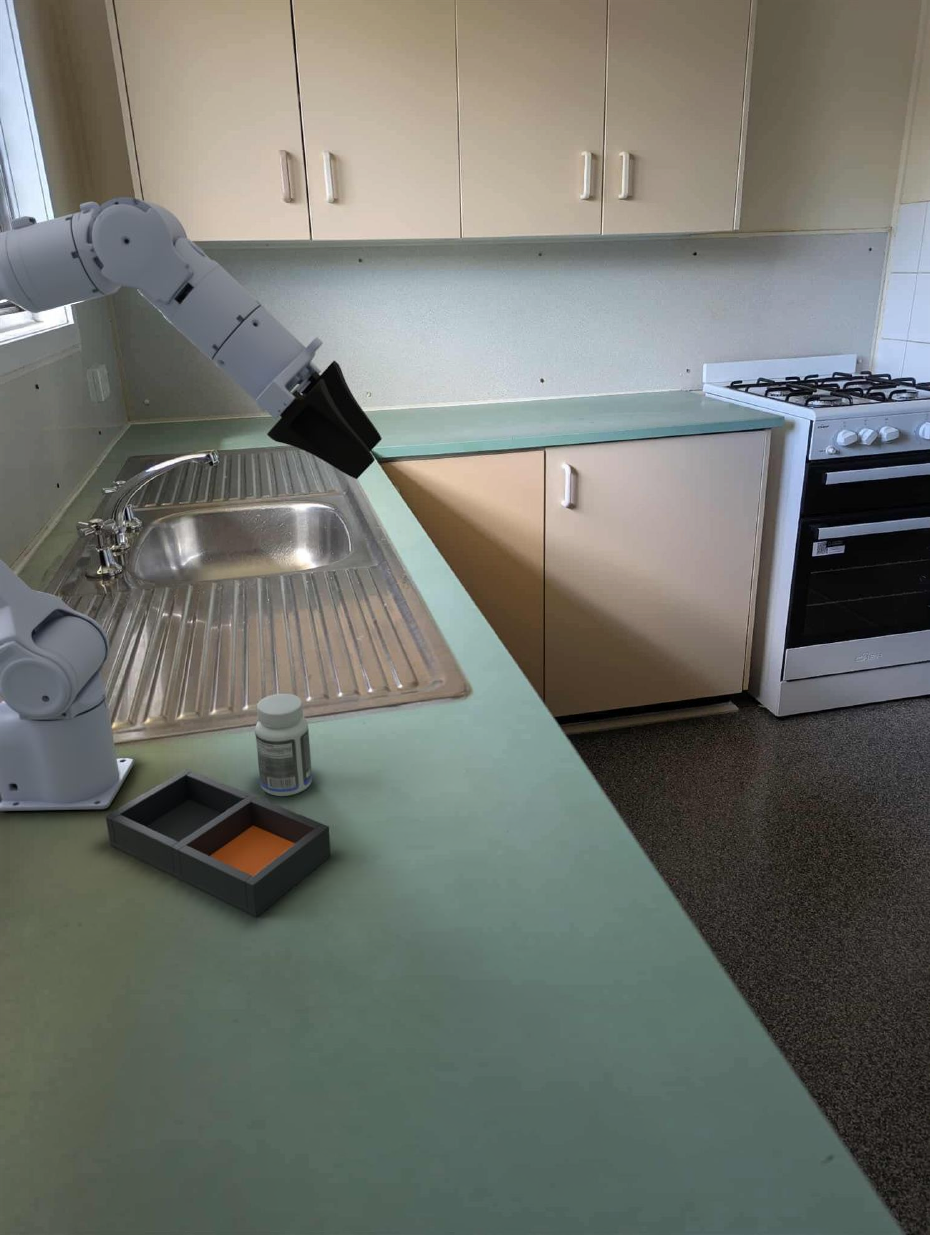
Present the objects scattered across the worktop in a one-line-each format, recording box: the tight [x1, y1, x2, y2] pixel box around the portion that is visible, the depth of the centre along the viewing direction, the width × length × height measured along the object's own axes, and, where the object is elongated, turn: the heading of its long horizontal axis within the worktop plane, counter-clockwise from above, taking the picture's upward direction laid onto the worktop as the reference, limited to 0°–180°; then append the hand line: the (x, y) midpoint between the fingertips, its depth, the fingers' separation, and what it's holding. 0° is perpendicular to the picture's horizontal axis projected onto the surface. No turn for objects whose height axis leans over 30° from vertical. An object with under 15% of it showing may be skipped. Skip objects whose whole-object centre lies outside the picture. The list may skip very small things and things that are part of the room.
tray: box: [105, 768, 332, 918], centre depth 71 cm, size 16×9×3 cm, turn 59°
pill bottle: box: [254, 693, 313, 797], centre depth 80 cm, size 5×5×8 cm
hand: (369, 457), depth 70 cm, fingers open, 7 cm apart
